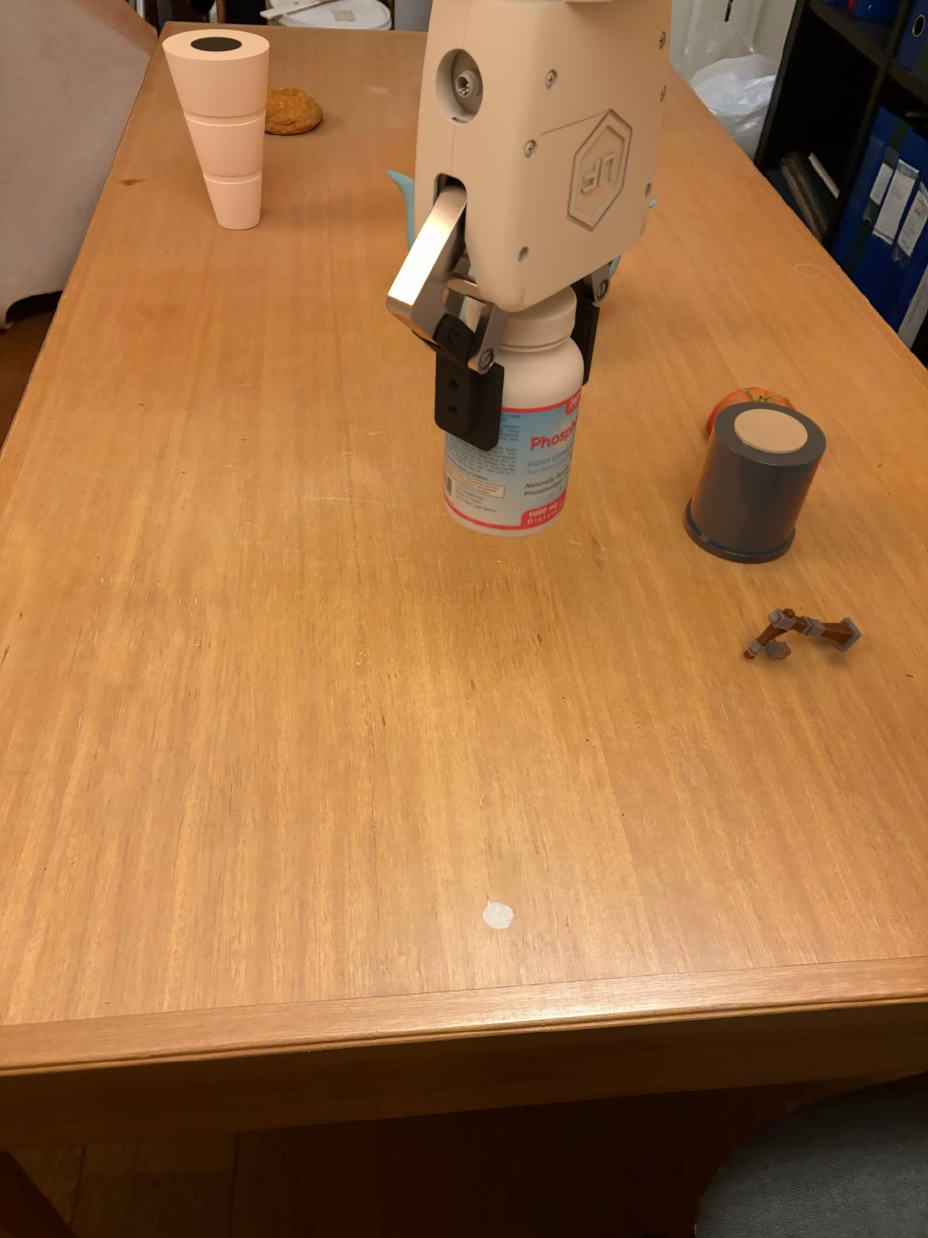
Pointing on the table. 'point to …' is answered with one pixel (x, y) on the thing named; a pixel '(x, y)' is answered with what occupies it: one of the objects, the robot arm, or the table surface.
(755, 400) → the tomato
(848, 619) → the wooden post with brackets
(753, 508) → the upturned cup
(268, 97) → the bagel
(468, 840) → the table surface
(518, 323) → the pill bottle
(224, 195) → the pink tapered cylinder
